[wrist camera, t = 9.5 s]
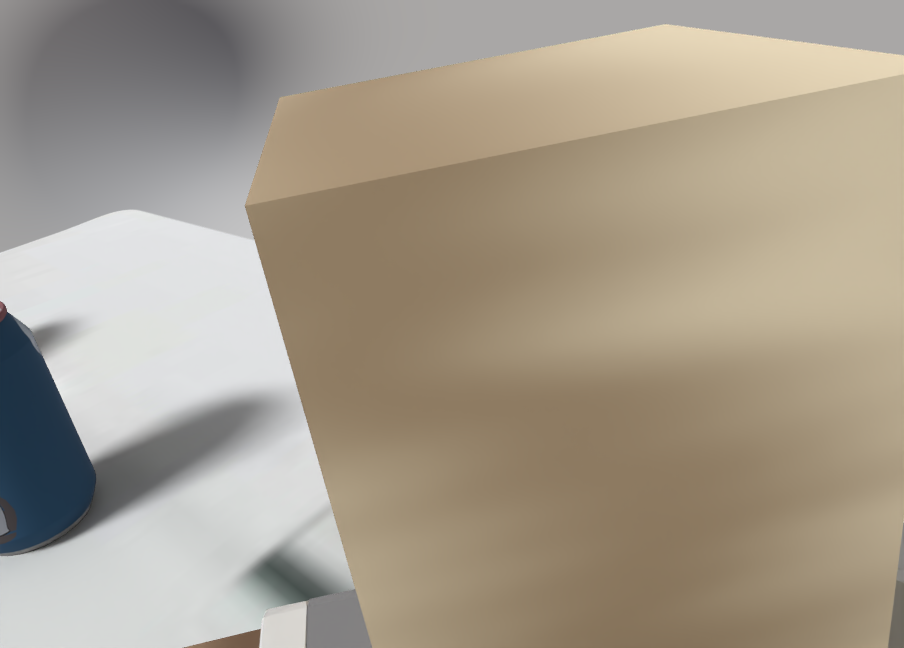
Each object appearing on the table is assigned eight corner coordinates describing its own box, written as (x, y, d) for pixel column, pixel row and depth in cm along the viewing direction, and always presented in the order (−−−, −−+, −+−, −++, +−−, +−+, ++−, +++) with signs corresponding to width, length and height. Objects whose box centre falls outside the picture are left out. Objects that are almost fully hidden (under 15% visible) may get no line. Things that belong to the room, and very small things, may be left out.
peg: (692, 768, 13) (665, 24, 8) (835, 1069, 9) (960, 61, 4) (464, 829, 13) (279, 97, 8) (521, 1164, 9) (244, 205, 4)
